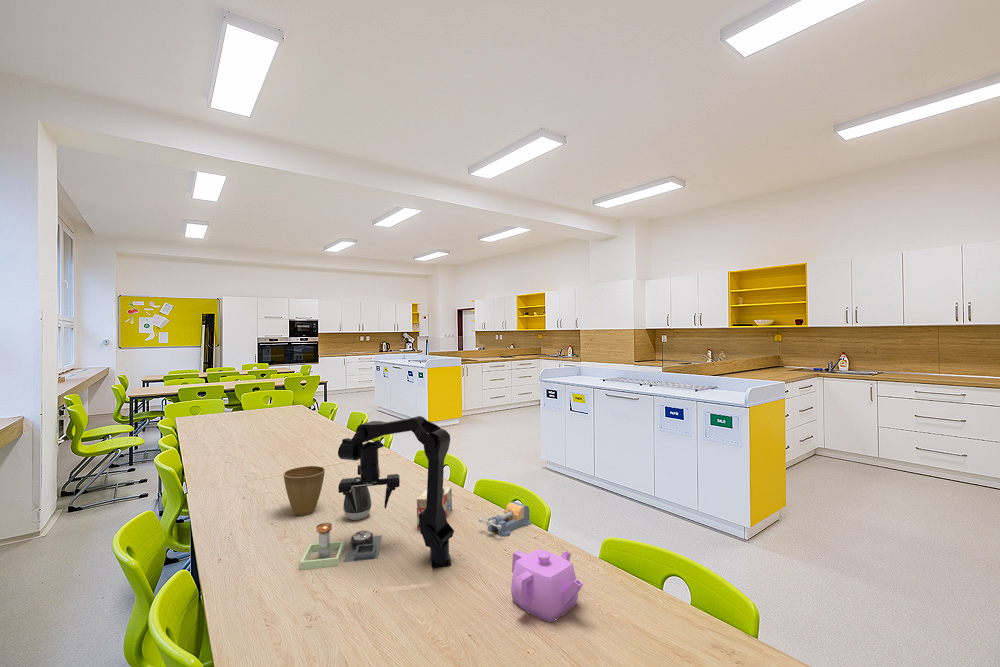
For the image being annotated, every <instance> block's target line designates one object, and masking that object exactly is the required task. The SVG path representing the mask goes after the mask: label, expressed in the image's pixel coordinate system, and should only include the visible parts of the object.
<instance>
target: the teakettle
mask: <svg viewBox="0 0 1000 667" xmlns="http://www.w3.org/2000/svg"><path fill="white" fill-rule="evenodd" d="M571 554H572V552H569V551H563V552H562V553H561V556H559V555H557V554H555V553H552V552H550V551H548V550H545V549H540V548H538V549H535V550H533V551H530V552H529V553H526V552H524V551H521V550H519V549H518V550H515V552H512V567H511V572H512V576H511V577H512V578H511V587H510V590H511V591H510V592H511V597H512V600H513V603H514V604H516V605H517V606H518V605H519V606H520V607H519V606H518V607H519V608H521V609H522V608H523V609H522V610H524V611H525V610H526V611H525V612H527V613H528V612H529V613H528V614H530V613H531V614H530V615H532V616H533V617H536V618H538V617H539V619H540V618H541V619H540V620H542V619H543V620H542V621H544V620H546V621H545V622H547V621H550V622H549V623H553V622H555V621H556V620H555V619H557V618H558V619H560V618H561V617H563V616H564V615H566V614H567V613H568V612H569V611H570V609H571V608H572V609H573V608H574V607H576V605H577V602H578V598H579V595H578V594H579V592H580V590H581V588H582V587H583V585H584V583H583V582H582V581H581V580H580V579H577V576H576V572H575V569H574V568H575V567H574V565H573V563H572V562H571V560H570V559H571ZM572 609H571V610H572ZM567 611H568V612H567ZM566 612H567V613H566ZM563 614H564V615H563ZM562 615H563V616H562ZM560 616H561V617H560ZM559 617H560V618H559ZM558 619H557V620H558ZM554 620H555V621H554ZM552 621H553V622H552Z"/></svg>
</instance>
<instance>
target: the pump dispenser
mask: <svg viewBox="0 0 1000 667" xmlns="http://www.w3.org/2000/svg"><path fill="white" fill-rule="evenodd" d="M352 478H353V481H361V476H355V477H352ZM364 484H365V483H364ZM355 498H356V505H357V511H356V512H355V510H354V508H353V506H352V504H351V502H350V500H349V499H348V497H347V496H346V495H344V499H343V506H342V507H343V511H344V515H345V516H346V517H347V518H348V519H349V520H353V521H359V520H362V519H365V518H366V517H367V516H368V515H369V513H370V512H371V509H372V498H371V493H370V490H369V486H364V487H355Z"/></svg>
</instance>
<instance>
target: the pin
mask: <svg viewBox="0 0 1000 667" xmlns="http://www.w3.org/2000/svg"><path fill="white" fill-rule="evenodd" d="M332 529H333V525H332V523H331V522H322V523H319V524H318V525H316V531H315V532H316V533H318V543H319V551H318V559H327V558H331V550H330V542H331V536H330V535H331V531H332Z"/></svg>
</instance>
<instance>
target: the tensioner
mask: <svg viewBox="0 0 1000 667" xmlns="http://www.w3.org/2000/svg"><path fill="white" fill-rule="evenodd" d="M382 536H383V535H374V534H373V533H372V532H370V530H369V531H368V530H360V531H358V532H355V533H354V534H353V535H351V538H350V541H349V544H348V547H347V549H346V553H345V556H344V560H343V563H350V562H351V563H352V562H359V561H360V562H362V561H369V560H371V561H372V560H379V559H378V558H379V554H380V549H381V548H380V547H381V543H382Z"/></svg>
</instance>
